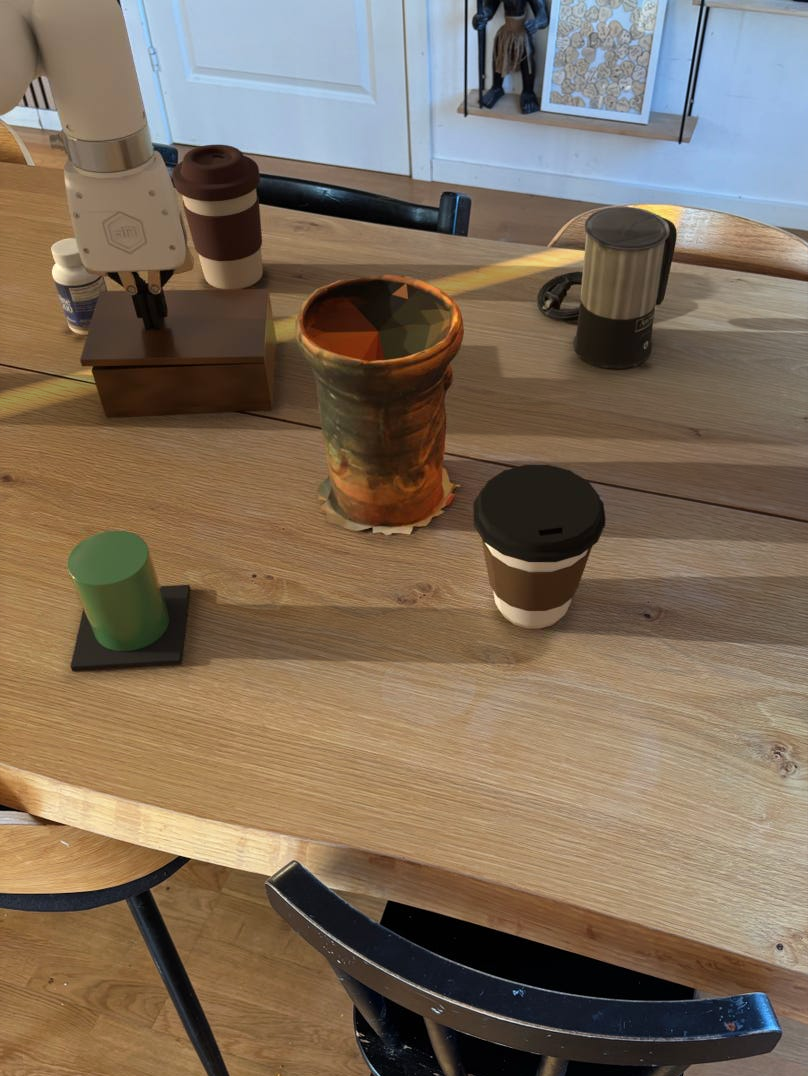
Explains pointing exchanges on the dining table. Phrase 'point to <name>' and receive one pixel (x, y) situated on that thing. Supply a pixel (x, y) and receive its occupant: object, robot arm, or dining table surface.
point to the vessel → (382, 397)
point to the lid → (180, 329)
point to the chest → (189, 386)
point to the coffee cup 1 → (222, 213)
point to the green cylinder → (119, 590)
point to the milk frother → (616, 286)
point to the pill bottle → (75, 285)
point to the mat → (156, 654)
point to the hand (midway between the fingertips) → (154, 322)
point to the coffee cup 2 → (537, 539)
